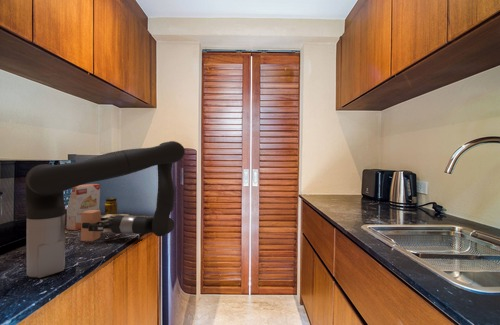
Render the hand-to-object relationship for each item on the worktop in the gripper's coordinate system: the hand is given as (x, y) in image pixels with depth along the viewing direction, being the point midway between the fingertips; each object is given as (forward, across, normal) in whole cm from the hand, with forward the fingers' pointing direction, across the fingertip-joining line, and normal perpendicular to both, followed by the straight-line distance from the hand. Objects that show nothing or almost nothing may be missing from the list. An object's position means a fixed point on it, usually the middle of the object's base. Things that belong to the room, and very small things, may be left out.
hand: (90, 222), depth 104 cm
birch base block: (0, -15, +7) cm, 17 cm away
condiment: (+10, -30, +7) cm, 33 cm away
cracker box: (+16, -16, +7) cm, 24 cm away
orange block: (0, 0, +7) cm, 7 cm away
